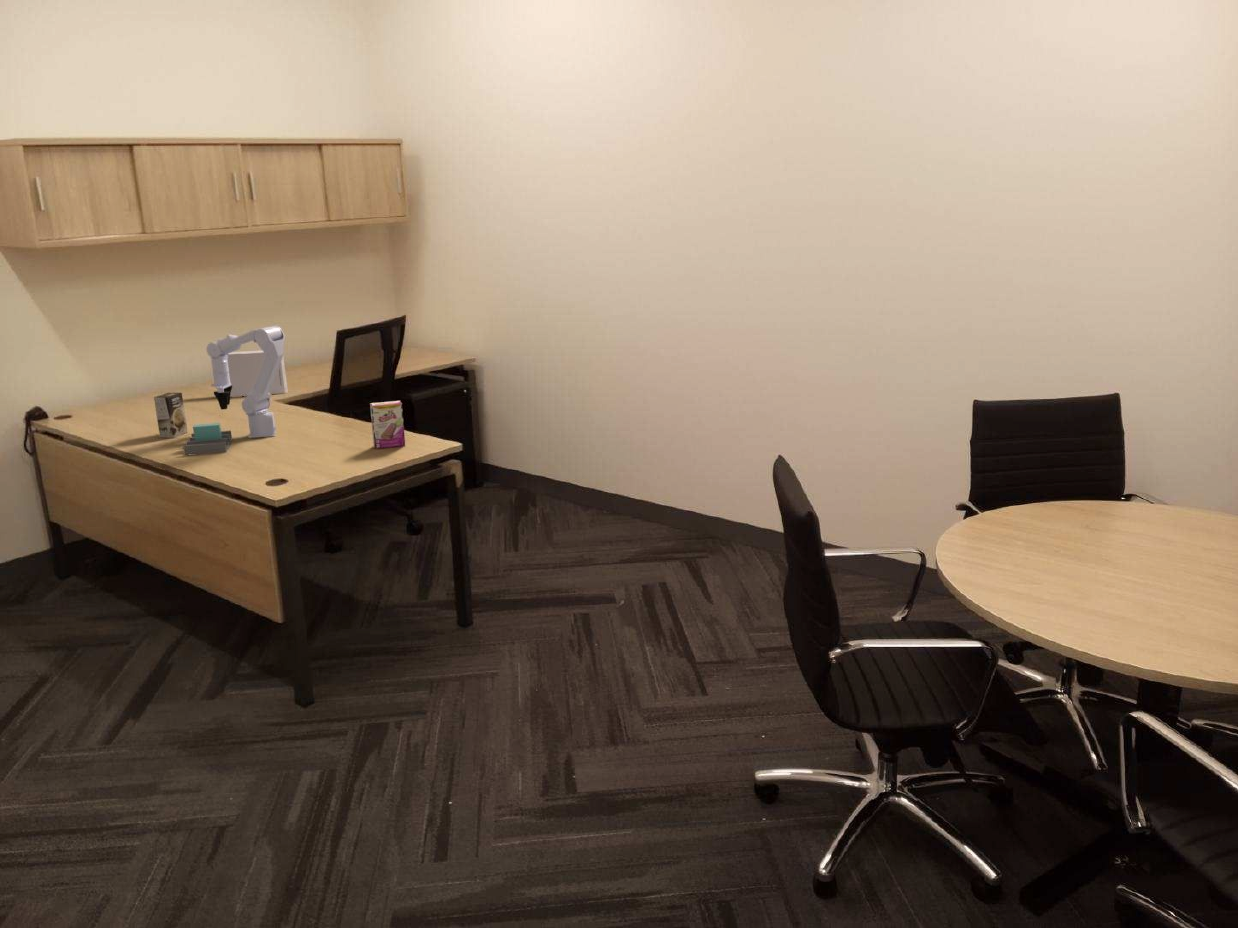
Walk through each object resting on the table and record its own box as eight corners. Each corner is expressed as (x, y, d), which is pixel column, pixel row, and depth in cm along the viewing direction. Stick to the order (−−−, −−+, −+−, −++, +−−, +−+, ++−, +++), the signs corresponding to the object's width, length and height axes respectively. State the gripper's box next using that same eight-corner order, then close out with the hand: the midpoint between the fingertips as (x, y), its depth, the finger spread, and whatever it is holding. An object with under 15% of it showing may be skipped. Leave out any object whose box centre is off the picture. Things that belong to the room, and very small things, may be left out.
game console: (287, 393, 446) (282, 350, 440) (224, 398, 439) (218, 355, 433) (287, 391, 451) (282, 348, 445) (225, 395, 444) (219, 352, 438)
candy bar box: (375, 449, 351) (370, 405, 346) (373, 446, 356) (369, 403, 351) (406, 446, 355) (402, 402, 350) (404, 443, 359) (400, 400, 355)
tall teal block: (223, 442, 362) (220, 422, 360) (221, 444, 359) (219, 425, 356) (197, 444, 360) (194, 424, 357) (195, 446, 356) (192, 427, 354)
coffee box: (174, 438, 373) (167, 397, 368) (159, 437, 374) (152, 397, 369) (188, 432, 381) (182, 392, 377) (174, 431, 383) (167, 391, 378)
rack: (232, 439, 370) (230, 430, 369) (226, 452, 352) (224, 442, 351) (193, 442, 366) (191, 433, 365) (185, 455, 349) (183, 446, 348)
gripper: (212, 369, 378) (216, 403, 382) (207, 377, 364) (211, 411, 368) (231, 368, 380) (235, 402, 384) (227, 376, 366) (231, 410, 370)
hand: (225, 406), depth 376 cm, fingers open, 7 cm apart
